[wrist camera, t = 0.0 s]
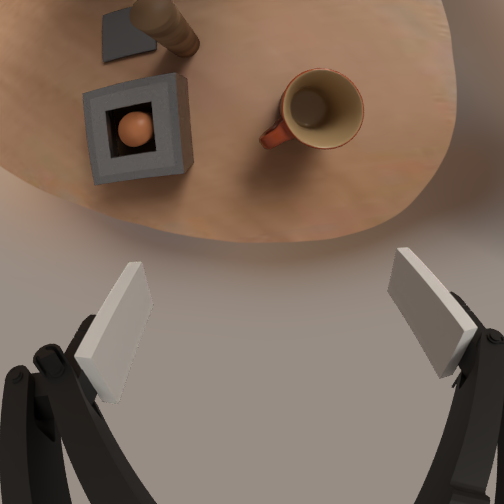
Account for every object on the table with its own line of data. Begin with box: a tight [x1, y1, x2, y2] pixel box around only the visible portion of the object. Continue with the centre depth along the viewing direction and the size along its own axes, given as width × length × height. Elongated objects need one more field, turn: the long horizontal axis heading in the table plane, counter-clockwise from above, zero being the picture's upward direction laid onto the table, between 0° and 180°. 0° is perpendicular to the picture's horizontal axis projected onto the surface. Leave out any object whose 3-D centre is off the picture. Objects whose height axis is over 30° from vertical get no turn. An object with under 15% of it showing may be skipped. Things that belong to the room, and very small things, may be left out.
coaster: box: [102, 7, 157, 63], centre depth 29 cm, size 8×8×1 cm
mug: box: [259, 68, 364, 149], centre depth 32 cm, size 12×9×10 cm
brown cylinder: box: [129, 0, 200, 57], centre depth 24 cm, size 4×4×16 cm
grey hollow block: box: [83, 72, 194, 185], centre depth 33 cm, size 12×12×7 cm
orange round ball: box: [118, 111, 155, 147], centre depth 33 cm, size 4×4×3 cm
